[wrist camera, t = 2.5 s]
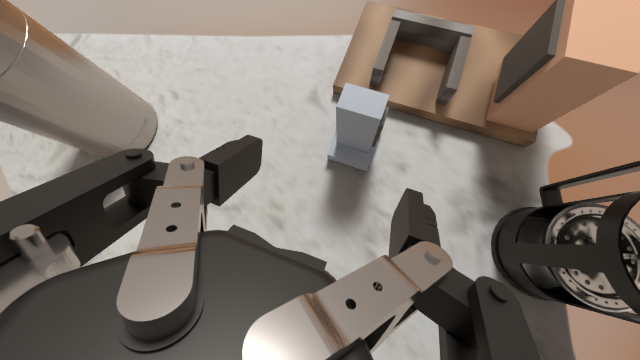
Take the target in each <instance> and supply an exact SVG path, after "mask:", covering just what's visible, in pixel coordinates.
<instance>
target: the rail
mask: <svg viewBox="0 0 640 360" xmlns="http://www.w3.org/2000/svg"><path fill="white" fill-rule="evenodd" d="M522 37H523V36H522V35H518V34H513V33H509V32H504V31H500V30H495V29H491V28H486V27H482V26H477V25H473V24H468V23H463V22H459V21H455V20H450V19H445V18H441V17H436V16H432V15H428V14H423V13H419V12H414V11H409V10H405V9H401V8H396V7H391V6H387V5H383V4H378V3H374V2H369V1H367V3H366V6H365V8H364V10H363V13H362V16H361V18H360V20H359V23H358V25H357V28H356V30H355V33H354V35H353V38H352V40H351V42H350V45H349V47H348V50H347V52H346V55H345V57H344V60H343V62H342V65H341V67H340V70H339V72H338V75H337V77H336V80H335V82H334V84H333V92H335V93H338V94H341V93H342V91H343V88H344V86H345V83H349V84H352V85H356V86H360V87H363V88H367V89H370V90H374V91H378V92H381V93H385V94H389V98H388V101H387V104H386V107H388V108H391V109H394V110H398V111H401V112H405V113H408V114H412V115H415V116H419V117H422V118H426V119H429V120H433V121H436V122H440V123H443V124H447V125H450V126H454V127H457V128H461V129H464V130H468V131H471V132H475V133H478V134H482V135H485V136H489V137H492V138H496V139H499V140H503V141H506V142H510V143H513V144H517V145H520V146H524V147H526V146H528V145H530V144H532V143H534V142H535V139H536V134H537V130H536V131H534V132H532V133H531V132H527V131H524V130H520V129H516V128H513V127H509V126H506V125H502V124H498V123H495V122H491V121H488V120H486V118H487V114H488V110H489V106H490V101H491V97H492V93H493V89H494V85H495V80H496V76H497V72H498V68H499V64H500V63H501V62H502V61H503V58H504V57H505V55H506V54H507V53H508V52H509V51H510V50H511V49H512V48H513V47H514V46H515V44H516V43H517V42H518V41H519V40H520V39H521V38H522Z"/></svg>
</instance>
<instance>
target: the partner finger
mask: <svg viewBox="0 0 640 360" xmlns="http://www.w3.org/2000/svg"><path fill="white" fill-rule="evenodd" d="M639 69H640V0H556V1H555V2H554V3H553V4H552V5H551V6H550V7H549V8H548V9H547V11H546V12H545V13H544V14H543V15H542V16H541V17H540V18H539V19H538V20H537V21H536V22H535V24H534V25H533V26H532V27H531V28H530V29H529V30H528V31H527V32H526V33H525V35H524V36H523V37H522V38H521V39H520V40H519V41H518V42H517V43H516V44H515V46H514V47H513V48H512V49H511V50H510V51H509V52H508V53H507V54H506V55H505V57H504V58H503V61H502V62H501V63H500V64H499V68H498V72H497V76H496V80H495V85H494V89H493V93H492V97H491V101H490V106H489V110H488V114H487V118H486V120H488V121H491V122H495V123H498V124H502V125H506V126H509V127H513V128H516V129H520V130H524V131H527V132H531V133H532V132H534V131H536V130H538V129H539V128H541V127H543V126H545V125H547V124H548V123H550V122H552V121H554V120H556V119H557V118H559V117H561V116H563V115H565V114H566V113H568V112H570V111H572V110H574V109H575V108H577V107H579V106H581V105H582V104H585V103H586V102H588V101H590V100H592V99H594V98H595V97H597V96H599V95H601V94H602V93H604V92H606V91H608V90H610V89H612V88H613V87H615V86H617V85H619V84H621V83H623V82H624V81H626V80H628V79H630V78H632V77H633V76H635V75H637V74H639Z"/></svg>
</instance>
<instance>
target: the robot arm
mask: <svg viewBox="0 0 640 360" xmlns="http://www.w3.org/2000/svg"><path fill="white" fill-rule="evenodd" d="M0 121H2V122H5V123H8V124H10V125H13V126H16V127H19V128H22V129H24V130H27V131H30V132H33V133H36V134H38V135H41V136H44V137H47V138H50V139H53V140H55V141H58V142H61V143H64V144H67V145H69V146H72V147H75V148H78V149H80V150H83V151H86V152H89V153H92V154H95V155H97V156H100V157H103V158H104V159H101V160H99V161H96V162H94V163H92V164H89V165H87V166H84V167H82V168H80V169H77V170H75V171H73V172H70V173H68V174H65V175H63V176H61V177H58V178H56V179H54V180H51V181H49V182H46V183H44V184H42V185H39V186H37V187H34V188H32V189H30V190H27V191H25V192H23V193H20V194H18V195H15V196H13V197H11V198H8V199H6V200H4V201H1V202H0V360H373V358H372V356H371V353H372V352H373V351H375V350H376V349H377V348H378V347H379V346H380V345H381V344H382V343H383V342H384V340H385V339H386V338H387V337H388V336H389V335H390V334H391V333H393V332H394V331H395V330H396V329H397V328H398V327H400V326H401V325H402V324H403V323H404V322H405V321H407V320H408V319H409V318H410V317H411V316H412V315H413V314H415V313H416V312H417V311H418V310H419V311H420V312H421V313H423V314H424V315H425V316H427V317H428V318H430V319H431V320H432V321H434V322H435V323H436V324H438V325H439V343H440V360H540V357H539V355H538V352H537V349H536V347H535V344H534V341H533V339H532V336H531V333H530V331H529V328H528V325H527V323H526V320H525V317H524V315H523V312H522V309H521V307H520V304H519V302H518V300H517V298H516V297H515V295H514V294H513V293H512V292H511V291H510V290H509V289H508V288H507V287H506V286H504V285H503V284H502V283H500V282H498V281H497V280H495V279H493V278H490V277H485V276H482V277H479V278H477V279H476V280H475V282H474V281H473V280H471V279H469V278H468V277H466V276H465V275H463V274H461V273H460V272H458V271H457V270H455V269H454V268H453V263H452V260H451V258H450V256H449V255H448V253H447V252H446V251H445V250H443V249H442V248H441V245H440V239H439V233H438V229H437V222H436V216H435V213H434V211H433V210H432V208H431V207H430V206H428V205H426V204H424V203H423V194H422V193H421V192H418V191H415V190H412V189H409V188H407V189H406V190H405V192H404V194H403V196H402V198H401V200H400V202H399V204H398V206H397V208H396V210H395V212H394V215H393V218H392V222H391V233H390V245H389V257H388V256H387V255H384V256H381V257H379V258H378V259H376V260H374V261H372V262H370V263H368V264H367V265H365V266H363V267H361V268H359V269H358V270H356V271H354V272H352V273H350V274H349V275H347V276H345V277H343V278H341V279H339V280H338V281H337V280H336V279H335V278H334V277H333V276H332V275H330V274H329V273H328V272H327V271H325V270H324V269H325V266H326V263H327V262H325V261H323V260H320V259H318V258H315V257H313V256H311V255H308V254H306V253H303V252H297V251H292V250H286V249H280V248H276V247H274V246H272V245H271V244H270V243H268V242H267V241H265V240H264V239H263V238H261V237H260V236H258V235H257V234H255V233H253V232H251V231H248V230H246V229H243V228H241V227H238V226H236V225H233V226H232V227H231V228H230V229H229V230H228V231H223V230H212V231H207V212H208V209H207V205H208V204H209V203H213V204H215V205H218V206H221V205H222V204H223V203H224V202H225V201H226V200H227V199H229V198H230V197H231V196H232V195H233V194H234V193H235V192H237V191H238V190H239V189H240V188H241V187H242V186H243V185H245V184H246V183H247V182H248V181H249V180H250V179H251V178H253V177H254V176H255V175H256V174H257V173H258V171H259V169H260V166H261V156H262V139H260V138H257V137H254V136H251V135H246V136H245V137H243V138H241V139H239V140H235V141H230V142H227V143H225V144H224V145H222V146H221V147H218V148H216V150H213V151H211V152H209V153H207V154H206V155H204V156H202V157H200V158H196V157H179V158H176V159H174V160H172V161H171V162H170V163H162V162H155V161H154V156H153V153H152V152H151V151H149V150H146V149H145V148H146V147H147V146H148V144H149V143H150V142H151V140H152V139H153V136H154V134H155V132H156V128H157V116H156V113H155V111H154V109H153V107H152V106H151V105H150V104H149V103H147V102H146V101H145V100H143V99H142V98H141V97H139V96H138V95H136V94H135V93H134V92H132V91H131V90H130V89H128V88H127V87H126V86H124V85H123V84H122V83H120V82H119V81H117V80H116V79H115V78H113V77H112V76H111V75H109V74H108V73H106V72H105V71H104V70H102V69H101V68H100V67H98V66H97V65H95V64H94V63H93V62H91V61H90V60H89V59H87V58H86V57H84V56H83V55H82V54H80V53H79V52H78V51H76V50H75V49H74V48H72V47H71V46H69V45H68V44H67V43H65V42H64V41H63V40H61V39H60V38H58V37H57V36H56V35H54V34H53V33H52V32H50V31H49V30H47V29H46V28H45V27H43V26H42V25H41V24H39V23H38V22H36V21H35V20H34V19H32V18H31V17H30V16H28V15H27V14H25V13H24V12H23V11H21V10H20V9H19V8H17V7H16V6H14V5H13V4H11V3H10V2H9V1H7V0H0ZM122 186H123V189H124V192H125V195H126V196H125V197H123V198H121V199H120V200H118V201H116V202H115V203H113V204H111V205H110V206H108V207H106V208H105V209H104V207H103V200H104V198H105V197H106V196H107V195H108V194H109V193H111V192H113V191H115V190H117V189H118V188H120V187H122ZM146 218H147V220H146V223H145V226H144V229H143V233H142V236H141V239H140V242H139V246H138V249H137V251H135V252H132V253H128V254H125V255H122V256H118V257H115V258H111V259H108V260H105V261H101V262H98V263H95V264H91V265H88V266H84V267H81V266H83V265H84V264H85V263H87V262H88V261H89V260H91V259H92V258H93V257H95V256H96V255H97V254H99V253H100V252H101V251H103V250H104V249H106V248H107V247H108V246H110V245H111V244H112V243H114V242H115V241H116V240H118V239H119V238H120V237H122V236H123V235H124V234H126V233H127V232H129V231H130V230H131V229H133V228H134V227H135V226H137V225H138V224H139V223H141V222H142V221H143V220H145V219H146ZM80 267H81V268H80Z"/></svg>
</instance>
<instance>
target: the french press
mask: <svg viewBox="0 0 640 360" xmlns="http://www.w3.org/2000/svg"><path fill="white" fill-rule="evenodd" d="M637 171H640V161H637V162H633V163H629V164H625V165H622V166H618V167H614V168H610V169H607V170H603V171H599V172H595V173H591V174H587V175H584V176H580V177H576V178H572V179H568V180H565V181H561V182H557V183H553V184H550V185H546V186H542V187H540V189H539V192H540V196H541V200H542V205H543V207H526V208H520V209H517V210H513V211H511V212H510V213H508V214H506V215H505V216H504V217H503V218H502V219H501V220H500V221H499V222H498V224H497V225H496V227H495V230H494V232H493V236H492V253H493V256H494V260H495V262H496V264H497V266H498V269H499V270H500V272H501V273H502V274H503V276H504V277H505V278H506V279H507V280H508V281H509V282H510V283H511V284H512V285H513V286H514V287H516V288H517V289H518V290H520V291H521V292H523V293H525V294H527V295H529V296H532V297H535V298H538V299H542V300H551V301H553V300H554V301H558V302H561V303H565V304H569V305H572V306H576V307H579V308H583V309H587V310H590V311H594V312H597V313H602V314H605V315H608V316H612V317H616V318H619V319H623V320H626V321H630V322H634V323H637V324H640V226H639V225H638V224H637V223H636V222H635V221H634V220H632V219H631V218H630V217H628V216H627V215H628V213H629V212H630V210H631V208H632V207H633V206H634V205H635V204H636V203H637V202H638V201H639V200H640V191H635V192H629V193H623V194H617V195H611V196H604V197H598V198H592V199H587V200H580V201H574V202H568V203H563V201H562V197H561V193H560V190H561V189H563V188H567V187H572V186H576V185H580V184H584V183H589V182H594V181H598V180H602V179H606V178H611V177H615V176H620V175H624V174H628V173H632V172H637ZM608 201H614V202H613V203H612V204H611V205H610V206H609V207H608V206H604V205H600V204H595V203H601V202H608ZM528 219H541V220H544V221H547V222H549V223H548V225H547V226H546V228H545V231H544V234H543V238H542V244H523V243H517V242H518V234H519V231H520V229H521V226H522V225H523V223H524V222H525V220H528ZM521 263H525V264H534V265H542V266H547V267H548V269H549V271H550V272H551V274H552V275H553V277H554V278H555V279H556V280H557V282H558V283H559V284H560V285H557V286H551V287H545V286H540V285H536V284H535V283H534V282H533V281H532V280H531V278H530V277H529V276H528V274H527V273H526V272H525V270H524V268H523V266H522V264H521ZM632 310H633V311H634V312H636V313H637V314H638V315H637V314H633V313H629V312H628V311H632Z"/></svg>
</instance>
